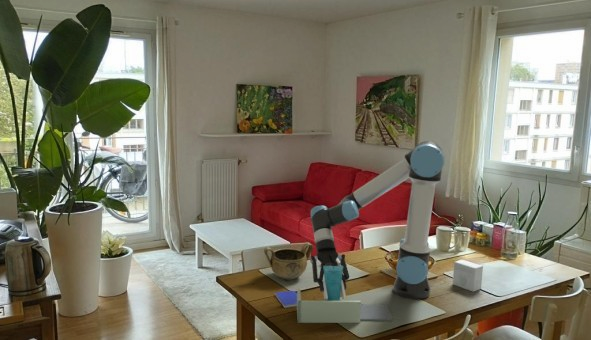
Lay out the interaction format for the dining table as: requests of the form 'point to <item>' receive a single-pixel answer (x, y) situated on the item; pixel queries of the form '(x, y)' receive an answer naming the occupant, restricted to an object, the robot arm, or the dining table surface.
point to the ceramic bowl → (289, 261)
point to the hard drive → (287, 298)
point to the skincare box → (467, 275)
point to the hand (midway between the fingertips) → (335, 298)
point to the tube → (333, 281)
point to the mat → (375, 313)
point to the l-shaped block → (327, 311)
